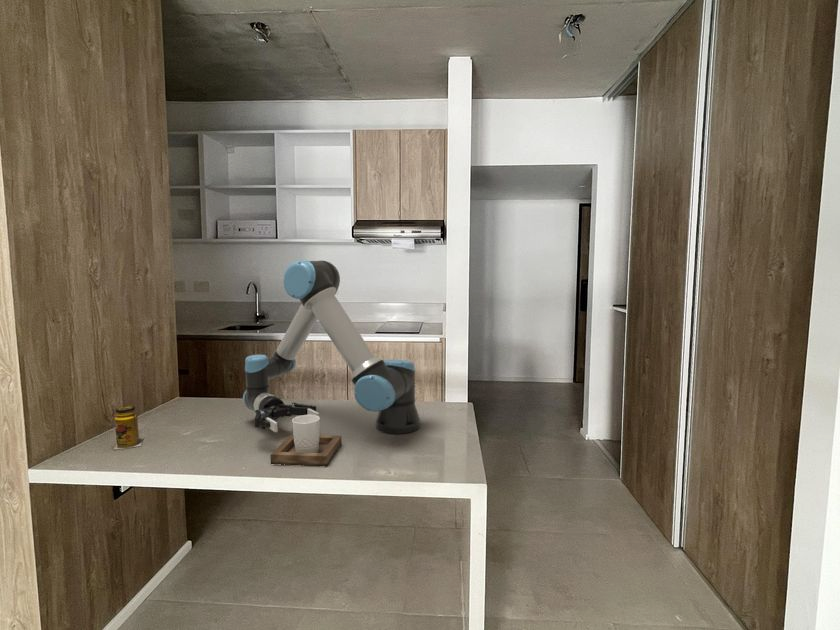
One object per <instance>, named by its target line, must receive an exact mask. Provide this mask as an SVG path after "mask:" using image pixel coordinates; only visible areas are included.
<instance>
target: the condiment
mask: <svg viewBox="0 0 840 630" xmlns="http://www.w3.org/2000/svg"><path fill="white" fill-rule="evenodd" d="M114 428H115V436H116V439H115V440H116V444H115V446H114V448H113V450H124V449H130V448H135V447H141V446H142V443H143V441H144V438H145V437H144V436H141V437H140V434H139V423H138V414H137V413H136V407H135V405H123V406H119V407H116V408H115V417H114Z"/></svg>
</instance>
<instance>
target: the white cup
mask: <svg viewBox="0 0 840 630" xmlns="http://www.w3.org/2000/svg"><path fill="white" fill-rule="evenodd" d="M320 417H321V416H320V415H319V416H316V415H301V416H300V415H296V416H295V417H293V418H292V419H291V424H292V434H293V437H294V445H295V452H298V453H318V451H319V436H320V435H321V433H320V431H321V430H320V429H321V428H320V425H321V424H320V423H321V418H320Z"/></svg>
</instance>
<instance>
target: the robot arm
mask: <svg viewBox="0 0 840 630" xmlns="http://www.w3.org/2000/svg"><path fill="white" fill-rule="evenodd" d="M282 281H283V282H282V283H283V288H284V290H285V292H286V293H287V295H289V297H291V298H293V299H296V300H299V302H300V303H301V304H300V306H299V308H298V309H297V312H296V313H295V316H294V317H293V319H292V321H291V322H290V324H289V326H288V328H287V330H286V332H285V334H284V335H283V337H282V339H281V341H280V343H279V344H278V346H277V348H276V349H275V351H274V353H273V354H272V356H269V357H268V356H267V355H265V354H253V355H248V356H247V357H246V358H245V361H244V363H245V364H244V371H245V372H244V373H245V387H246V388H245V391H244V393H243V394H242V395H243V396H242V402H243V404H244V405H245V407H247V408H248V409H249V410H251V411H253V412H254V413H255V414H254V415H255V416H254V418H253V419H254V420H253V421H254V427H255V428H259V427H260V426H261V430H265V429H267V428H268V429H269V430H271V431H272V432H274V433H278V422H277V421H276V420H278V419H279V418H281V417H282V418H284V417H291V416H301V415H316V416H319V417H320V413H319V412H318V411H317V406H316V405H308V404H303V403H297V402H291V404H285V403H284V401H283V400H282V399H281V398H279V397H277V396H276V395H274V394H271V393H270V383H269V382H270V380H271V379H274V378H278V377H279V376H283V375H287V374H288V373H290V372H292V371H293V370H294V369H295V367H296V365H297V364H296V362H297V361H296V357H297V356H298V355H299V352H300V350H301V349H302V348H303V345H304V343H305V342H306V340H307V339H308V337H309V335H310V333H311V331H312V330H313V328H314V326H315V324H316V323H317V322H319V324H320V325H321V326H322V328H323V330H324V331H325V333H326V334H327V336H328V337H329V339H330V340H331V341H332V344H333V345H334V346H335V349H336V350H337V351H338V352H339V354H340V356H341V357H342V358H343V360H344V362H345V363H346V365H347V367H348V368H349V370H350V371H351V373H352V374H351V378H350V380H351V382H352V384H353V385H354V388H353V389H354V392H353V394H354V398H355V401H356V403H358V405H359V406H360V407H361V408H362V409H365V410H366V411H369V412H373V413H376V412H377V415H376V419H375V428H376V430H377V431H378V432H381V433H384V434H390V435H392V434H393V435H399V434H402V435H403V434H409V433H413V432H416V431H418V430H419V429H421V428H420V427H421V419H420V415H419V413H418V408H417V406H416V401H415V400H416V399H415V397H416V396H415V395H416V392H415V391H416V383H415V382H416V370H415V369H416V368H415V363H414V362H413V361H411V360H404V359H382V358H381V357H377V356H375V355H374V353H373V352H372V350H371V348H370V347H369V346H368V344H367V343H366V341H365V340H364V338H363V337H362V336H363V335H361V334H360V332H359V330H358V329H357V328H356V326H355V324H354V322H352V320H351V318H350V317H349V315H348V314H347V311H346V310H345V309H344V308H343V306H342V304H341V303H340V301H339V300H338V298H337V297H336V293H337V291H338V289H339V287H340V283H341V277H340V273H339V270H338V268H337V267H336V266H335V265H334V264H333V263H331V262H329V261H326V260H305V259H302V260H300V261H299V260H297V261H295V262H292V263H291V264H290V265H289V266H288V267H287V268H286V269H285V271H284V274H283V280H282Z"/></svg>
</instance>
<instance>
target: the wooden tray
mask: <svg viewBox="0 0 840 630" xmlns="http://www.w3.org/2000/svg"><path fill="white" fill-rule="evenodd" d="M342 442H343V441H342V435H333V434H332V435H330V434H329V435H328V434H325V435H324V434H320V436H319V451H318V453H298V452H295V445H294V437H293V433H292V434H290V435H288V436H287V438H286V439H284V440H283V441H282V443H281V444H280V445H278V446H277V448H275V449H274V450H273V451H272V452H271V453H270V455H269V459H270V465H271V464H281V465H280V466H290V465H301V466H300V467H320V466H325V467H324V468H326V467H328V466H329V464H330V462H331V461H332V460H333V459H334V457H335V455H336V454H337V453H338V451H339V449H340V448H341V447H342ZM284 464H285V465H284ZM303 465H304V466H303Z"/></svg>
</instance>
